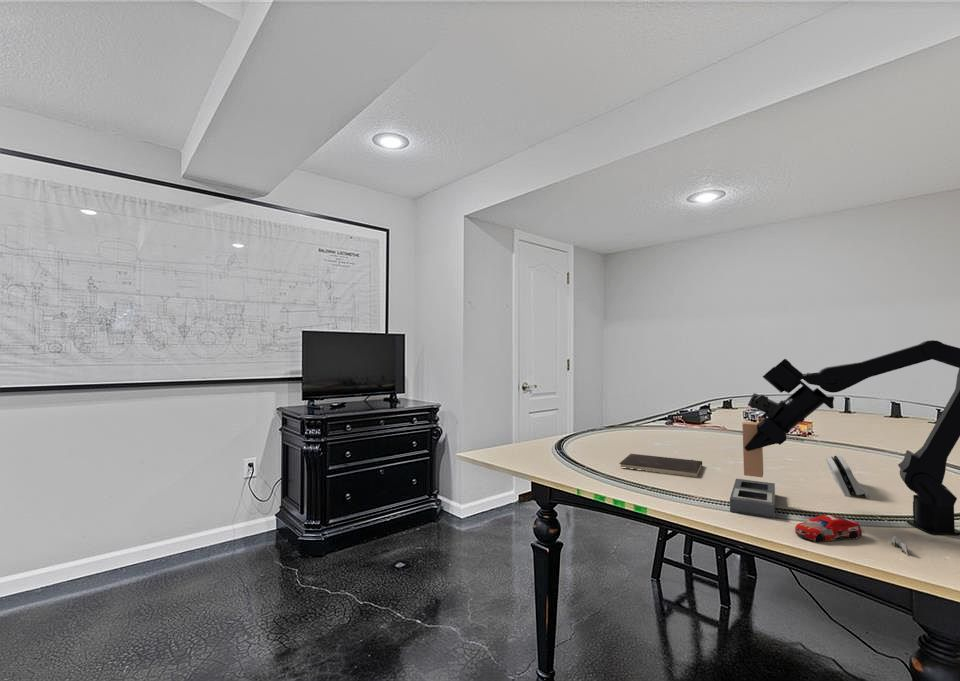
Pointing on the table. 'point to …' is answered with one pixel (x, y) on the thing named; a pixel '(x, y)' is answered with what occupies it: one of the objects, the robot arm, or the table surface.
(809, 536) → the race car
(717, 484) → the table surface
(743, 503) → the block with square holes
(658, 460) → the hardcover book
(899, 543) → the small metal piece
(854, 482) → the white slotted holder
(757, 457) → the peg
